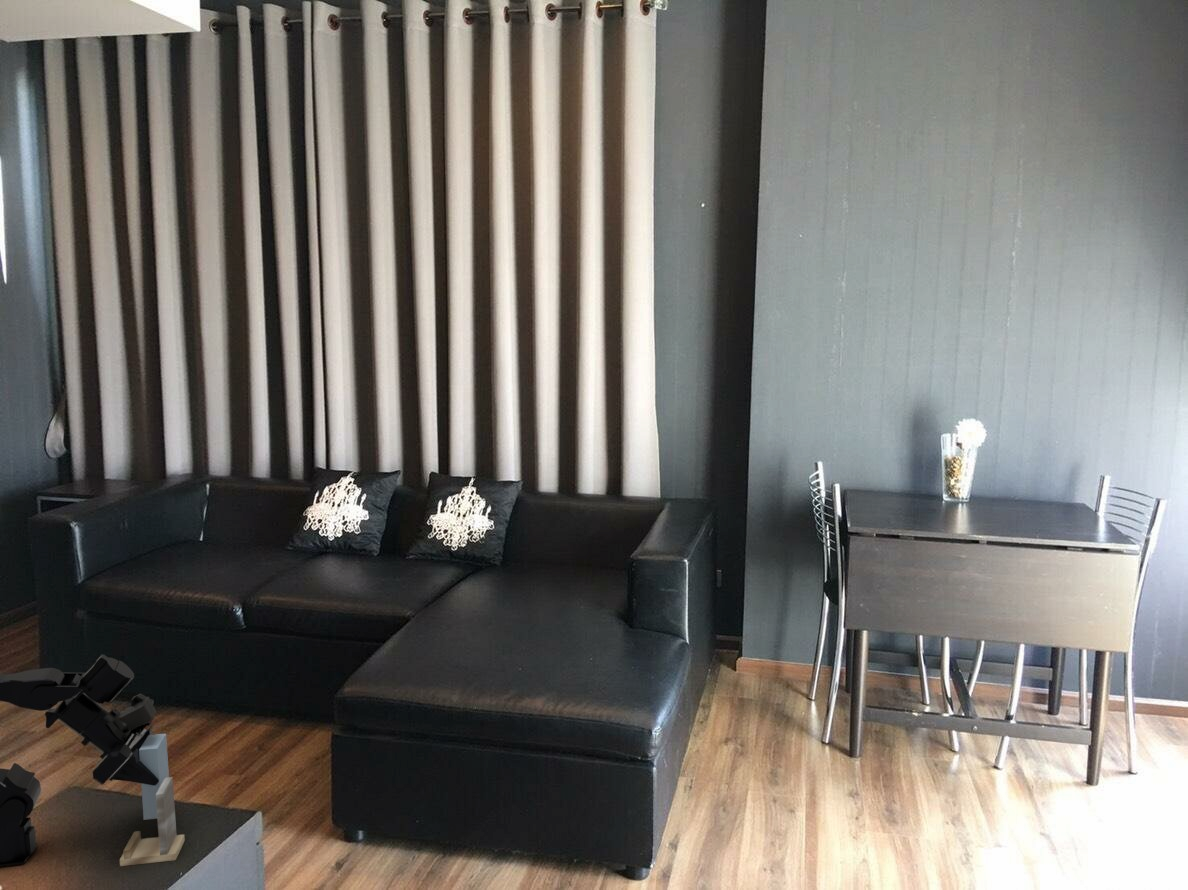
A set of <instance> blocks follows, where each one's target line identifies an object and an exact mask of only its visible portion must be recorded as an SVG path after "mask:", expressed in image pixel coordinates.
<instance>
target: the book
mask: <svg viewBox="0 0 1188 890" xmlns="http://www.w3.org/2000/svg"><path fill="white" fill-rule="evenodd" d="M167 740H168V739H167V733H158V734H157V733H156V734H152V735H148V737H147V739H146V740H145V742H144V743H143V745H142V746H141V748H140V749H139V757H140V761H141V762H142V763H143V764H144V765H145V766H146V767H147V768H148V769H149V770H150V771H151V772H152V773H153V774H154V775H155V776H156V777H157V778H158V779H159V782H158V783H157V784H156V785H155V786H153V785H148V784H142V783H140V786H141V798H142V814H143V815H142V816H143V821H144V820H155V819H156V820H157V807H156V793H157V791H158V790H159V788H160V786H161V784H162V783H163V781H164V779H165V778H167V777H170V773H169V760H168V744H167Z"/></svg>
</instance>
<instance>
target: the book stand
mask: <svg viewBox="0 0 1188 890" xmlns="http://www.w3.org/2000/svg"><path fill="white" fill-rule="evenodd" d="M173 777H174V776H169V777H167V778H165V779H164V781H163V783H162V784H161V786H160V788H159V790H158V791H157V793H156V807H157V819H156V820H157V832H158V836H156V837H147V838H146V837H145V838H142V836H141V835H142V834H141V833H142V832H141V830H137V831H134V832H133V833H132V834H131V836H130V838H129V840H128V842H127V844H126V846H125V848H124V849H123V851H122V852H123V853H122V855H121V857H120V858H119V866H120V867H124V866H134V865H144V864H152V863H153V864H154V863H161V862H171V861H176V860H177V858H178V857H179V854H180V852H181V850H182V847H183V845H184V843H185V841H186V839H185V833H184V834H183V833H182V834H177V823H176V808H175V794H174V781H173Z"/></svg>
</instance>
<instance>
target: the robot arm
mask: <svg viewBox="0 0 1188 890" xmlns="http://www.w3.org/2000/svg"><path fill="white" fill-rule="evenodd" d="M134 678H135V673H134V672H133V670H132V669H131V668H130V666H129V665H127V664H126V663H124V662H123V661H122V660H117V659H115V658H114V657H108V656H107V655H105V654H101V655H100V656H99V657H98V658H97V659H96V661H95V663H94V664H93V665H92V666H91V667H90V668H89V669H88V670H87V671H86V672H74V671H73V672H70V671H69V672H66V671H65V672H64V671H62V670H61V669H58V668H54V667H45V668H44V667H43V668H36V669H35V668H34V669H28V670H23V671H20V672H17V673H16V672H15V673H9V674H7V673H4V674H3V673H0V702H4V703H7V704H10V705H13V706H16V707H18V708H22V709H28V710H31V711H40V712H42V711H45V713H44V715H45V728H47V729H50V728H51V727H52V726H53V724H55V723H56V722H57V721H58V720H59V722H61V723H62V724H63V725H65V726H66V727H68V728H69V729H71V730H72V731H73V732H74V733H76V734H77V735H78V736H80V737H81V738H82V740H81V742H80V744H82V745H83V746H84V747H86V746H87V745H88V744H90V745H92V746H93V747H94V748H96V749H97V750H98V751H100V752H101V754H100V755H99V758H100V761H99V762H98V763H97V764H96V766H95V767H94V769H93V770H92V778H93V780H94V781H96V782H97V783H99V785H101V786H103V785H104V784H105V783H106V782H107V781H110V782H112V781H122V782H131V783H137V784H141V783H142V784H148V785H153V786H155V785H156V784H157V783H158V782H159V779H158V778H157V777H156V776H155V775H154V774H153V773H152V772H151V771H150V770H149V769H148V768H147V767H146V766H145V765H144V764H143V763H142V762H141V761H140V757H139V749H140V748H141V746H142V745H143V743H144V742H145V740H146V739H147V737H148V735H153V729H154V726H153V724H152V722H153V721H154V719H155V718H154V717H155V715H156V714H157V713H158V712H157V710H156V708H155V706H154V704H155V703H154V702H155V701H154V699H152V698H150V696H146V695H144V694H142V693H139V694H137V695H134V696H133V697H132V698H131V700H130V705H129V706H128V707H127V708H125V709H124V710H122V711H119V710H118V709H117V708H110V710H109V711H108V710H107V709H106V708H105V707H103V706H102V704H104V703H111V702H112V701H113V700H114V699H115V698H116V697H117V696H118V695H119V694H120V693H121V691H122V690H124V688H125V687H126V686H127V685H129V683H130V682H131V681H132V680H133V679H134ZM80 689H81V690H80ZM59 702H60V703H59ZM58 703H59V704H58ZM57 704H58V705H57ZM55 706H56V707H55ZM54 707H55V708H54ZM147 727H148V728H147ZM146 728H147V729H146ZM35 776H36V772H32V771H29V770H26V769H24V768H23V767H22V766H21V765H20V764H18V763H16V762H14V763H13V764H12V765H11V767H10V769H9V768H8V769H7V768H1V767H0V867H10V866H21V865H23V864H25V863H26V862H27V861H28V859H29V858H30V856H31V855H32V853H34V851H35V850H36V848H37V847H38V843H37V839H36V828H35V826H34V825H32V819H31V817H29V816H30V815H31V814H32V813H33V810H34V809H35V806H36V804H37V801H38V800H39V797H40V795H41V791H42V787H41V782H40V780H39V779H37V778H36V777H35Z"/></svg>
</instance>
